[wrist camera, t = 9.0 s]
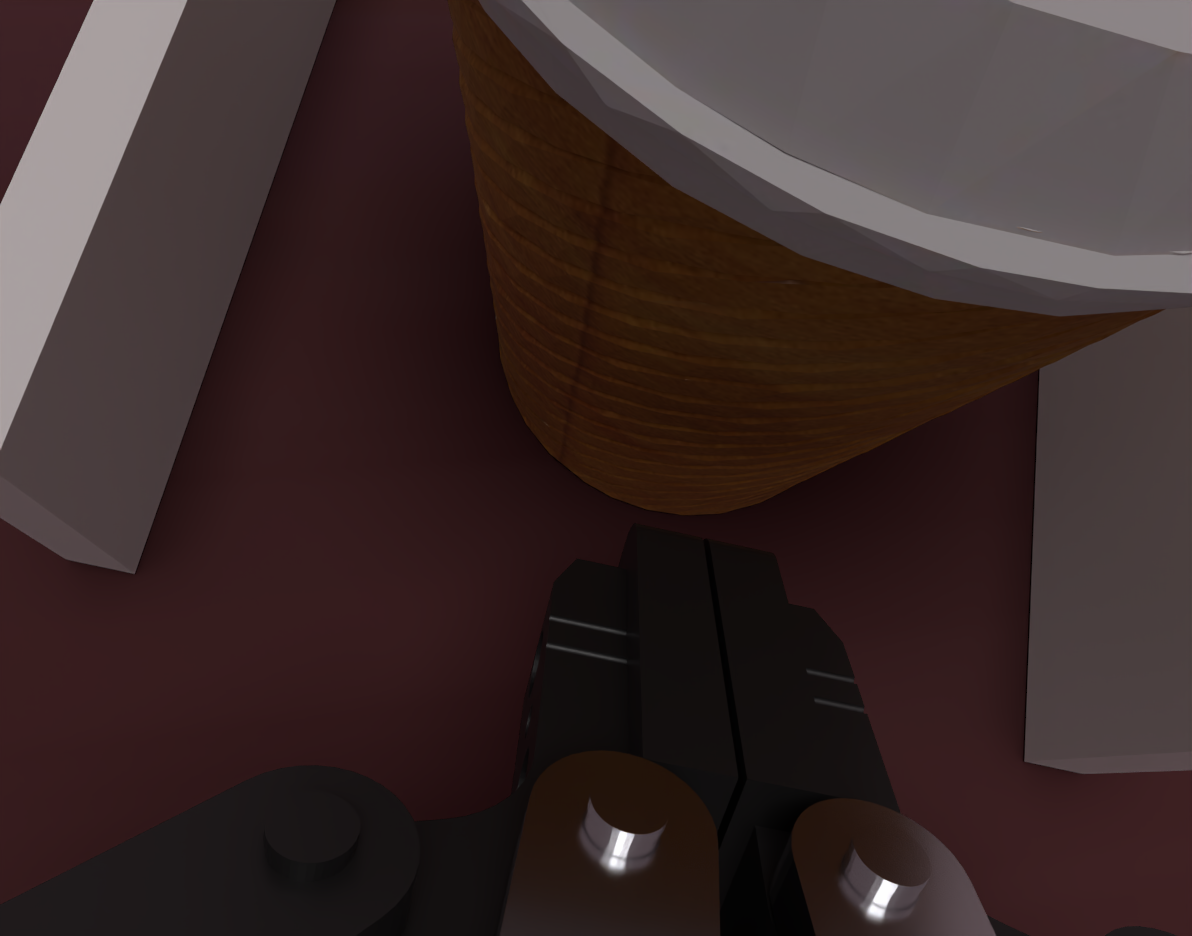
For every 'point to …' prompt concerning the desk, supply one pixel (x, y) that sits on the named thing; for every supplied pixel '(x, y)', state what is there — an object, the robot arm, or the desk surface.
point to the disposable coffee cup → (811, 217)
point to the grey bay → (213, 265)
